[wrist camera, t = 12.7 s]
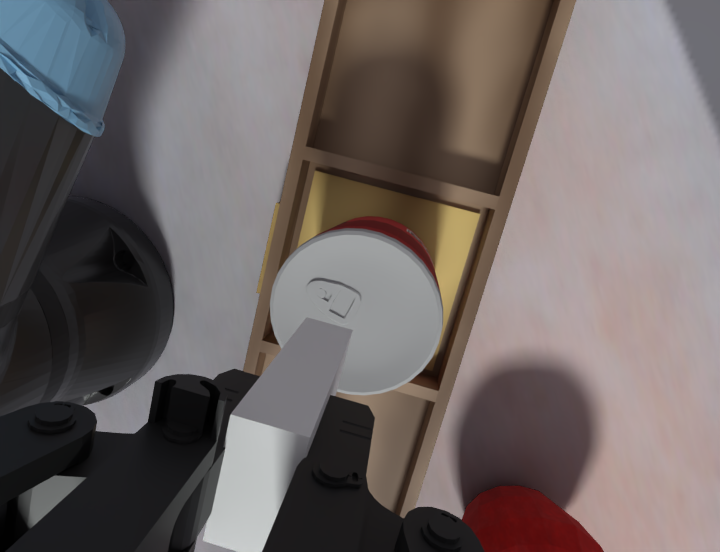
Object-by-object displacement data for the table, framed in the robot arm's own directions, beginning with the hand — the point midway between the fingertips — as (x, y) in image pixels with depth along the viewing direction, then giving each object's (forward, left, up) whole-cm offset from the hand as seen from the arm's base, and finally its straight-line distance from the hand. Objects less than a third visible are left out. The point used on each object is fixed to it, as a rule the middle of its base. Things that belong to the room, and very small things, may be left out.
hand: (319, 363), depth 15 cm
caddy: (0, 0, -19) cm, 19 cm away
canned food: (0, 0, -18) cm, 18 cm away
